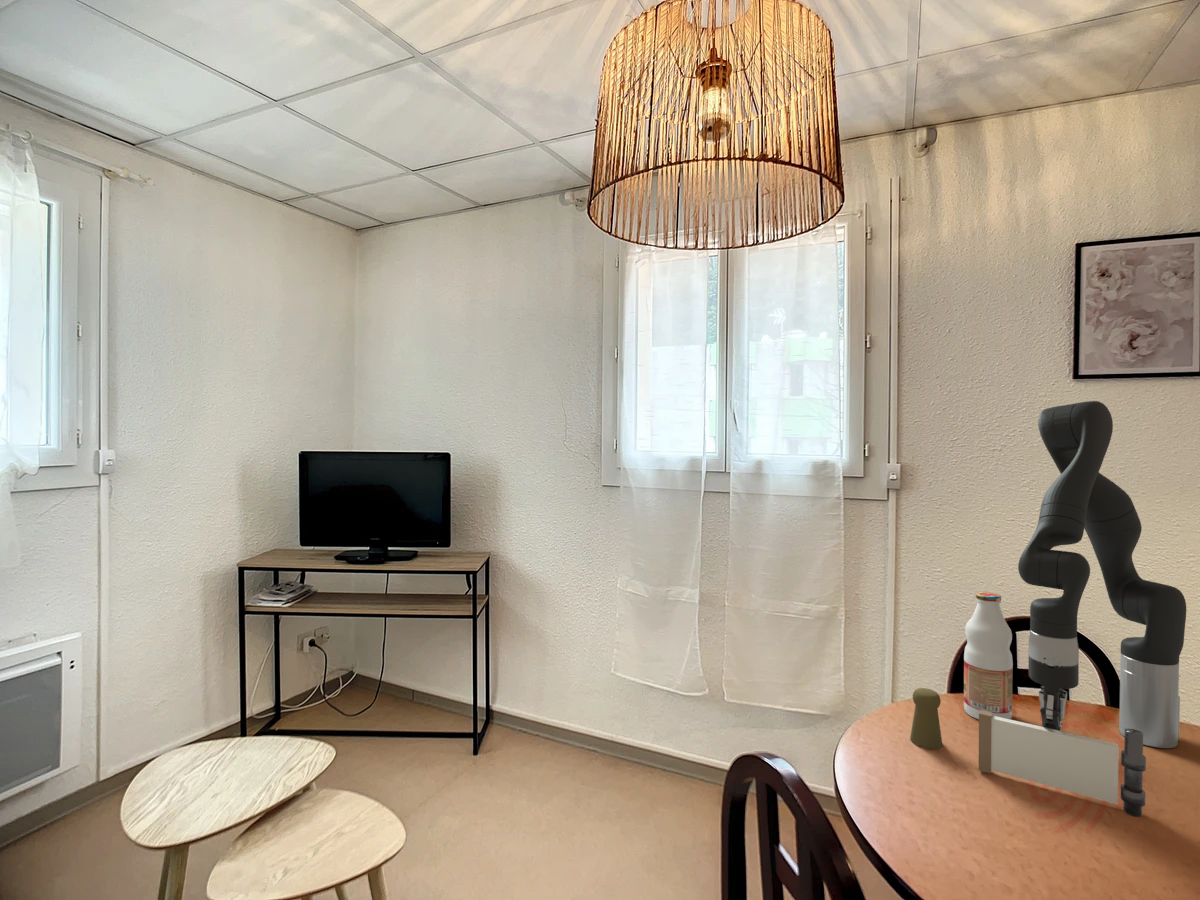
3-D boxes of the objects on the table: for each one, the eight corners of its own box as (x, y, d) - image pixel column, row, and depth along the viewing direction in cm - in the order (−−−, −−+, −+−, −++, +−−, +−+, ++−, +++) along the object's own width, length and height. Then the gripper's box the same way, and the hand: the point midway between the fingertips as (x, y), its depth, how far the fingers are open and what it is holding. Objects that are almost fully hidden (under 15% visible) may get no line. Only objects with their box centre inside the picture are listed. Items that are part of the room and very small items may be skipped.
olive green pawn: (946, 750, 126) (947, 697, 126) (914, 747, 127) (915, 695, 127) (936, 736, 132) (937, 685, 132) (906, 733, 133) (906, 683, 133)
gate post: (1128, 804, 107) (1129, 726, 107) (1149, 815, 104) (1151, 734, 104) (1115, 808, 106) (1117, 729, 106) (1136, 819, 103) (1138, 737, 103)
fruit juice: (981, 725, 136) (982, 600, 136) (954, 706, 146) (955, 589, 145) (1022, 723, 137) (1023, 599, 136) (992, 704, 146) (993, 588, 145)
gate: (1116, 802, 107) (1117, 740, 107) (1117, 808, 106) (1118, 745, 105) (979, 765, 120) (980, 709, 119) (978, 769, 118) (978, 713, 118)
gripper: (1033, 641, 122) (1033, 727, 123) (1023, 662, 112) (1023, 755, 113) (1081, 650, 117) (1080, 739, 118) (1075, 673, 107) (1075, 770, 108)
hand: (1052, 747), depth 115 cm, fingers closed
